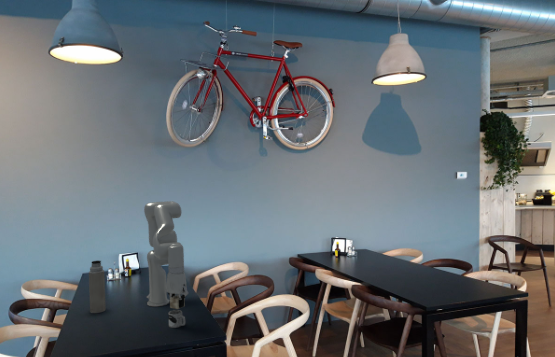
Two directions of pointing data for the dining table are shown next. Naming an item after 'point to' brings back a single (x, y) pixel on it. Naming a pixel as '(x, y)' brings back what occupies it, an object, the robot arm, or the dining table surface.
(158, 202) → the robot arm
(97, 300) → the thermos bottle
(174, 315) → the mug
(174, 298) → the birch cube
